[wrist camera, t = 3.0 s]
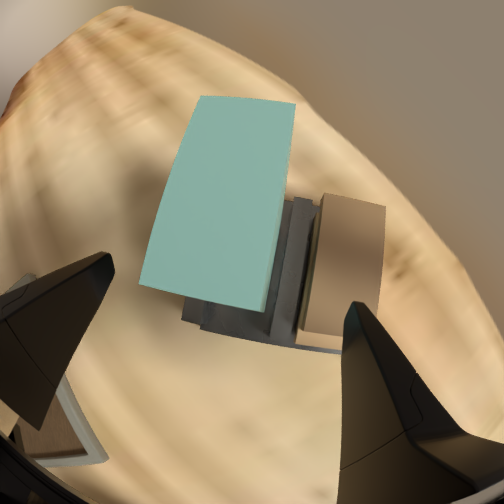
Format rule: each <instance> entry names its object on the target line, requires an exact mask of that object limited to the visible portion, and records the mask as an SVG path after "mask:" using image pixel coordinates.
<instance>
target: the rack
mask: <svg viewBox="0 0 504 504" xmlns="http://www.w3.org/2000/svg"><path fill="white" fill-rule="evenodd" d="M312 201H313V200H310V199H305V198H299V197H294V201H293V202H291V201H285V200H284V203H283V210H282V217H281V224H280V230H279V236H278V242H277V247H276V253H275V258H274V264H273V269H272V275H271V280H270V285H269V290H268V296H267V301H266V306H265V311H264V312H258V311H253V310H248V309H243V308H238V307H233V306H228V305H223V304H219V303H214V302H210V301H205V300H201V299H196V298H192V297H188V296H186V299H185V303H184V308H183V313H182V318H181V320H183V321H187V322H191V323H195V324H199V325H200V324H201V326H200V329H201V330H205V331H209V332H213V333H218V334H222V335H227V336H231V337H236V338H241V339H246V340H251V341H256V342H261V343H266V344H272V345H278V346H283V347H290V348H296V349H302V350H309V351H316V352H324V353H332V354H340V355H342V350H336V349H328V348H321V347H313V346H307V345H300V344H295V343H294V342H293V341H294V336H295V328H296V323H297V318H298V313H299V307H300V302H301V296H302V290H303V285H304V279H305V272H306V266H307V260H308V253H309V247H310V240H311V233H312V225H313V218H314V216H315V214H316V212H317V213H319V212H320V207H318V206H313V205H312Z"/></svg>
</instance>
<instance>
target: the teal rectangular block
mask: <svg viewBox="0 0 504 504" xmlns="http://www.w3.org/2000/svg"><path fill="white" fill-rule="evenodd" d="M295 106H296V104H293V103H286V102H279V101H271V100H262V99H252V98H240V97H224V96H200V99H199V101H198V103H197V105H196V108H195V110H194V112H193V115H192V117H191V120H190V122H189V124H188V127H187V129H186V132H185V134H184V137H183V139H182V142H181V145H180V147H179V150H178V153H177V155H176V158H175V161H174V163H173V166H172V169H171V172H170V175H169V178H168V181H167V184H166V187H165V190H164V193H163V196H162V199H161V202H160V205H159V209H158V212H157V215H156V219H155V222H154V226H153V229H152V233H151V236H150V240H149V244H148V247H147V251H146V255H145V259H144V263H143V267H142V271H141V276H140V280H139V284H140V285H144V286H148V287H152V288H155V289H159V290H163V291H167V292H171V293H175V294H179V295H184V296H188V297H192V298H196V299H201V300H205V301H210V302H214V303H219V304H223V305H228V306H233V307H238V308H243V309H248V310H253V311H258V312H264V311H265V306H266V301H267V296H268V290H269V285H270V280H271V275H272V269H273V264H274V258H275V253H276V247H277V242H278V236H279V230H280V224H281V217H282V210H283V203H284V195H285V188H286V180H287V173H288V165H289V157H290V149H291V141H292V132H293V124H294V115H295Z"/></svg>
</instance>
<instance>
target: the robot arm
mask: <svg viewBox="0 0 504 504" xmlns="http://www.w3.org/2000/svg"><path fill="white" fill-rule="evenodd" d="M114 274H115V269H114V264H113V260H112V256H111V254H110V253H107V252H103V251H102V252H98V253H96V254H94V255H91V256H89V257H86V258H84V259H82V260H79V261H77V262H74V263H72V264H70V265H68V266H65V267H63V268H61V269H58V270H56V271H54V272H52V273H49V274H47V275H45V276H43V277H41V278H38V279H36V280H34V281H32V282H30V283H28V284H25V285H23V286H21V287H19V288H17V289H15V290H12V291H10V292H8V293H5V294H3V295H1V296H0V504H99V503H98V502H96V501H94V500H92V499H90V498H89V497H87V496H85V495H84V494H82V493H80V492H79V491H77V490H75V489H74V488H72V487H71V486H69V485H68V484H66V483H65V482H63V481H62V480H60V479H59V478H57V477H56V476H54V475H53V474H52V473H50V472H49V471H48V470H46V469H45V468H44V467H42V466H41V465H40V464H38V463H37V462H36V461H35V460H33V459H32V458H31V457H30V456H29V455H27V454H26V453H25V452H24V451H25V449H24V445H23V441H22V436H21V431H20V426H19V425H18V424H17V423H16V422H17V420H18V418H19V416H20V417H21V418H22V419H23V420H25V421H26V422H27V423H28V424H30V425H31V426H32V427H34V428H35V429H36V430H38V431H40V430H41V428H42V425H43V422H44V420H45V417H46V415H47V412H48V410H49V407H50V405H51V402H52V400H53V398H54V395H55V393H56V391H57V390H56V389H57V388H58V386H59V384H60V382H61V379H62V377H63V375H64V373H65V371H66V369H67V367H68V365H69V363H70V360H71V358H72V356H73V354H74V352H75V351H76V349H77V347H78V345H79V343H80V341H81V339H82V337H83V335H84V333H85V332H86V330H87V328H88V326H89V324H90V322H91V321H92V319H93V317H94V315H95V314H96V312H97V310H98V308H99V306H100V304H101V302H102V300H103V298H104V296H105V294H106V292H107V290H108V288H109V285H110V283H111V281H112V279H113V277H114ZM341 377H342V435H341V459H340V470H341V471H340V473H339V486H338V496H337V504H504V444H502V443H499V442H495V441H491V440H488V439H484V438H481V437H477V436H474V435H471V434H469V433H467V432H466V431H464V430H463V429H462V428H461V427H460V426H459V425H458V424H457V423H456V422H455V421H454V419H453V418H452V417H451V416H450V414H449V413H448V412H447V411H446V409H445V408H444V407H443V406H442V405H441V403H440V402H439V401H438V400H437V398H436V397H435V396H434V395H433V393H432V392H431V391H430V389H429V388H428V387H427V385H426V384H425V383H424V381H423V380H422V379H421V377H420V376H419V374H418V373H416V370H415V369H414V367H413V366H412V365H411V363H410V362H409V360H408V359H407V358H406V356H405V355H404V354H403V352H402V351H401V350H400V348H399V347H398V346H397V344H396V343H395V342H394V340H393V339H392V338H391V336H390V335H389V334H388V332H387V331H386V330H385V328H384V327H383V326H382V324H381V323H380V322H379V321H378V319H377V318H376V317H375V315H374V314H373V313H372V312H371V310H370V309H369V308H368V307H367V305H366V304H365V303H364V302H359V301H353V302H352V303H351V305H350V307H349V309H348V312H347V314H346V316H345V319H344V324H343V342H342V355H341Z"/></svg>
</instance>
